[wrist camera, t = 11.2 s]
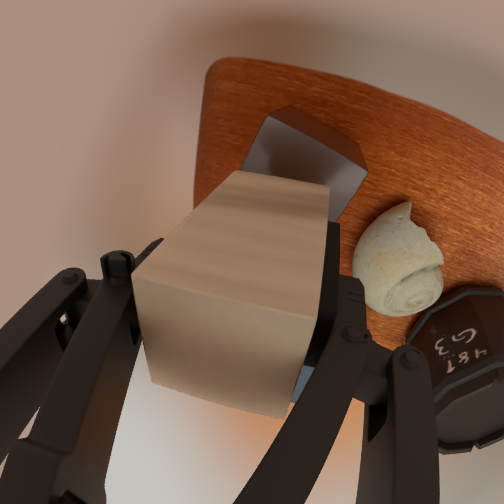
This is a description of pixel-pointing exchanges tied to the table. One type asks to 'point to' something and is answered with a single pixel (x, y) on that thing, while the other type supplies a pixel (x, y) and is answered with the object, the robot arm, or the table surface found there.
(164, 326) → the block
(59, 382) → the robot arm
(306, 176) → the plinth
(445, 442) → the octagonal dark pot
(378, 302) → the seashell
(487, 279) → the table surface
